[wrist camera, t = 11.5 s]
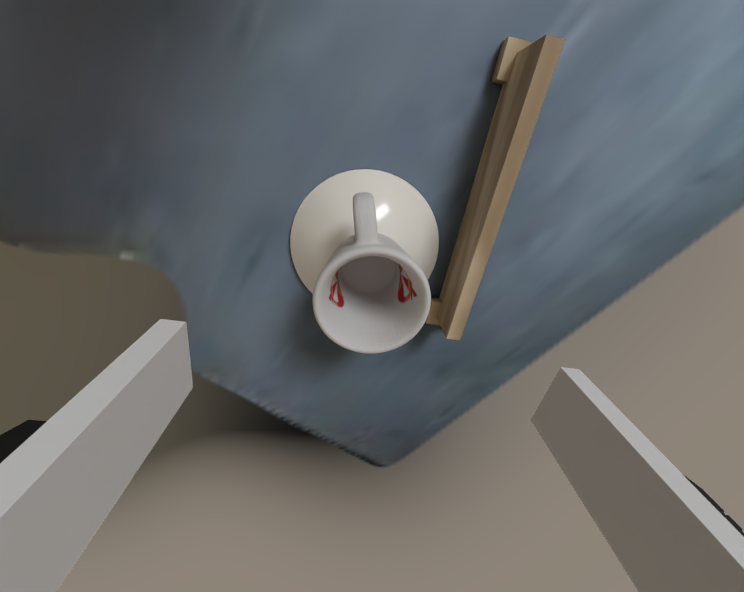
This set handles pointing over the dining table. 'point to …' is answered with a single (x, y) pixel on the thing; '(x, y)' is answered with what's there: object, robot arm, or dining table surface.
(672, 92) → the dining table surface
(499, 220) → the rail
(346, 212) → the coaster
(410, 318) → the cup
